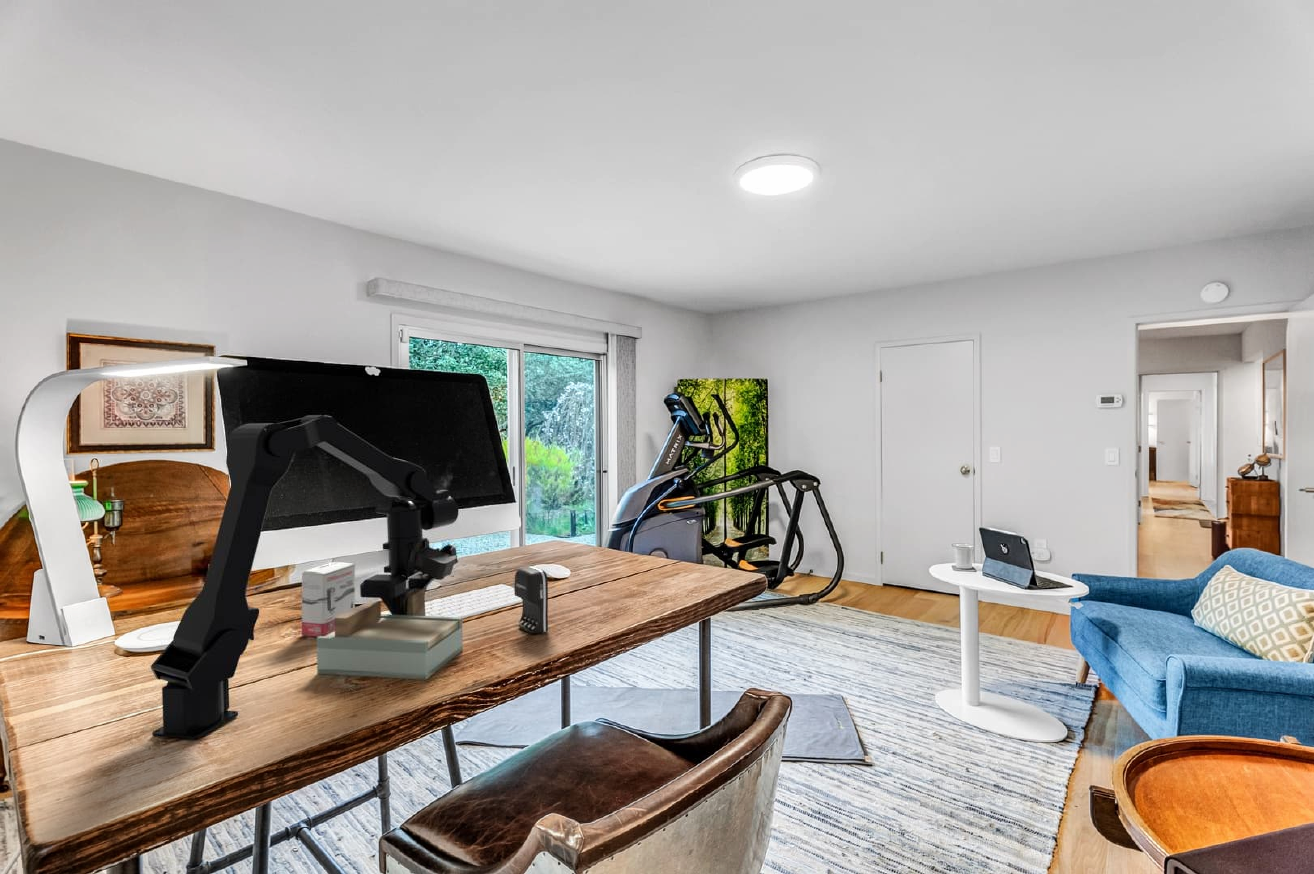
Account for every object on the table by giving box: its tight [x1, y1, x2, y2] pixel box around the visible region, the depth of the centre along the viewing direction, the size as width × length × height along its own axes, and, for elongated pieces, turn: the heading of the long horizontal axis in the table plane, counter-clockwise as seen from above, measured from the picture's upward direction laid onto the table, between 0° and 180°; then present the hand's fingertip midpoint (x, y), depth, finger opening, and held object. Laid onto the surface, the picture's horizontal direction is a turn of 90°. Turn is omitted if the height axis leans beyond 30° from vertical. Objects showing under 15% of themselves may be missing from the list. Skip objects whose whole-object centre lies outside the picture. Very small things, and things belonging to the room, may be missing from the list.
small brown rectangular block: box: [407, 589, 426, 616], centre depth 109 cm, size 4×4×7 cm
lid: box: [326, 600, 458, 648], centre depth 99 cm, size 10×18×4 cm, turn 82°
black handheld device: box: [513, 566, 549, 635], centre depth 113 cm, size 7×4×11 cm, turn 41°
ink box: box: [301, 561, 356, 638], centre depth 115 cm, size 9×5×12 cm, turn 168°
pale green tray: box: [316, 613, 464, 681], centre depth 99 cm, size 12×18×6 cm, turn 82°
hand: (408, 621), depth 109 cm, fingers closed on small brown rectangular block, 4 cm apart
